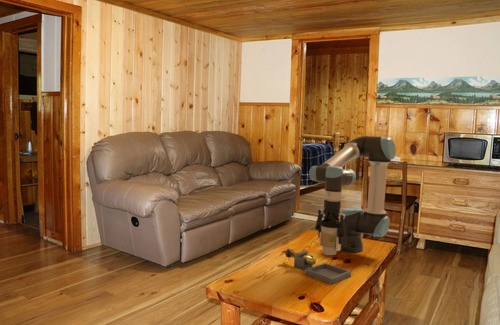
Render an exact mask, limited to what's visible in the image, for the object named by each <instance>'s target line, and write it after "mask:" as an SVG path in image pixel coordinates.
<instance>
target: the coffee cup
mask: <svg viewBox="0 0 500 325" xmlns="http://www.w3.org/2000/svg"><path fill="white" fill-rule="evenodd" d="M320 225H321V239H322V246H321V250H322V254H324V255H327V256H335V255H337V251H336V239H337V237H338V234H337V228H341V224H340V220H339V223H333V221H332V220H328V221H326V222H325V220H324V221H323V219H322V222H321V224H320Z"/></svg>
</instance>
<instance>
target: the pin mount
mask: <svg viewBox="0 0 500 325" xmlns="http://www.w3.org/2000/svg"><path fill="white" fill-rule="evenodd" d="M301 255H305V256H308V257H311V258H314V255H313V254H309V251H307V250H305V249H304V250H302V251H298V252H296V255H294V258H293V260H294V261H293V267H294V268H295V269H297V270H300V271H302V272H304V271H305V272H306V269H308V268H311V267H313V266H314V265H312V264H310V263H307V262H306V258H305V257H302V256H301Z"/></svg>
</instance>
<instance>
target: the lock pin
mask: <svg viewBox="0 0 500 325" xmlns="http://www.w3.org/2000/svg"><path fill="white" fill-rule="evenodd" d="M296 253H297V252H296V251H293V249H292V248H287V249H286V251H285V254H284V255H285V257H286V258H289V259H291V258H292V259H294V255H296ZM301 256H302V257H305V258H306V262H307V263H310V264H312V265H313V266H315V264H317V263H316V262H317V259H316V258H314V257H313V258H311V257H308V256H305V255H301Z"/></svg>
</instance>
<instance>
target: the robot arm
mask: <svg viewBox="0 0 500 325" xmlns="http://www.w3.org/2000/svg"><path fill="white" fill-rule="evenodd" d="M396 148H397V146H396V144H395V141H394V139H392V138H391V137H386V136H376V135H375V136H372V135H370V136H369V135H362V136H359V137H355V138H354V139H351V140H350V141H348V142H347V143H345V144H344V146H343V148H342V149H340V150H339V151H338V152H336V153H335V154H333V156H331V157H330V158H329V159H327V160H326V161H324V162H323V163H322V164H321V165H319V166H318V165H313V166H311V167H310V169H309V172H308V175H309V179H310V180H312V181H314V182H317V183H318V182H319V183H324V184H325V185H324V201H323V208H321V209H318V211H317V213H318V214H317V219H316V223H315V228H314V229H315V230H316V231H318V232H317V233H318V237H317V238H318V241H319V242H318V246H319V247H322V239H321V225H320V224H321V222H322V220H323V221H324V220H325V222H326V221H328V220H332V221H333V223H339V221H340V224H341V228H337V234H338V237H337V239H336V252H338V251H343V252H347V253H348V252H349V253H360V252H362V251H364V243H363V238H362V234H365V235H369V236H372V237H378V238H382V237H385V235H386V234H387V233H388V232H389V228H390V224H391V219H390V217H389V216H387V211H386V209H385V199H386V186H387V172H388V166H389V165H390V164H391V160H393V159H394V158H395V157H396V154H397V153H396V151H397V149H396ZM362 157H363V158H368V160H367V161H368V163H369V164H370V167H369V169H370V170H369V179H368V180H369V183H368V195H367V207H366V208H365V209H364V210H363V208H360V207H347V208H343V209H342V210H341V207H342V206H341V204H342V201H341V200H342V187H343V186H350V185H352V184H354V183H355V182H356V178H357V175H356V173H355V171H354V170H353V169H351V168H343V167H344V166H345V165H347V164H348V163H349V162H351V161H352V160H355V159H358V158H362Z"/></svg>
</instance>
